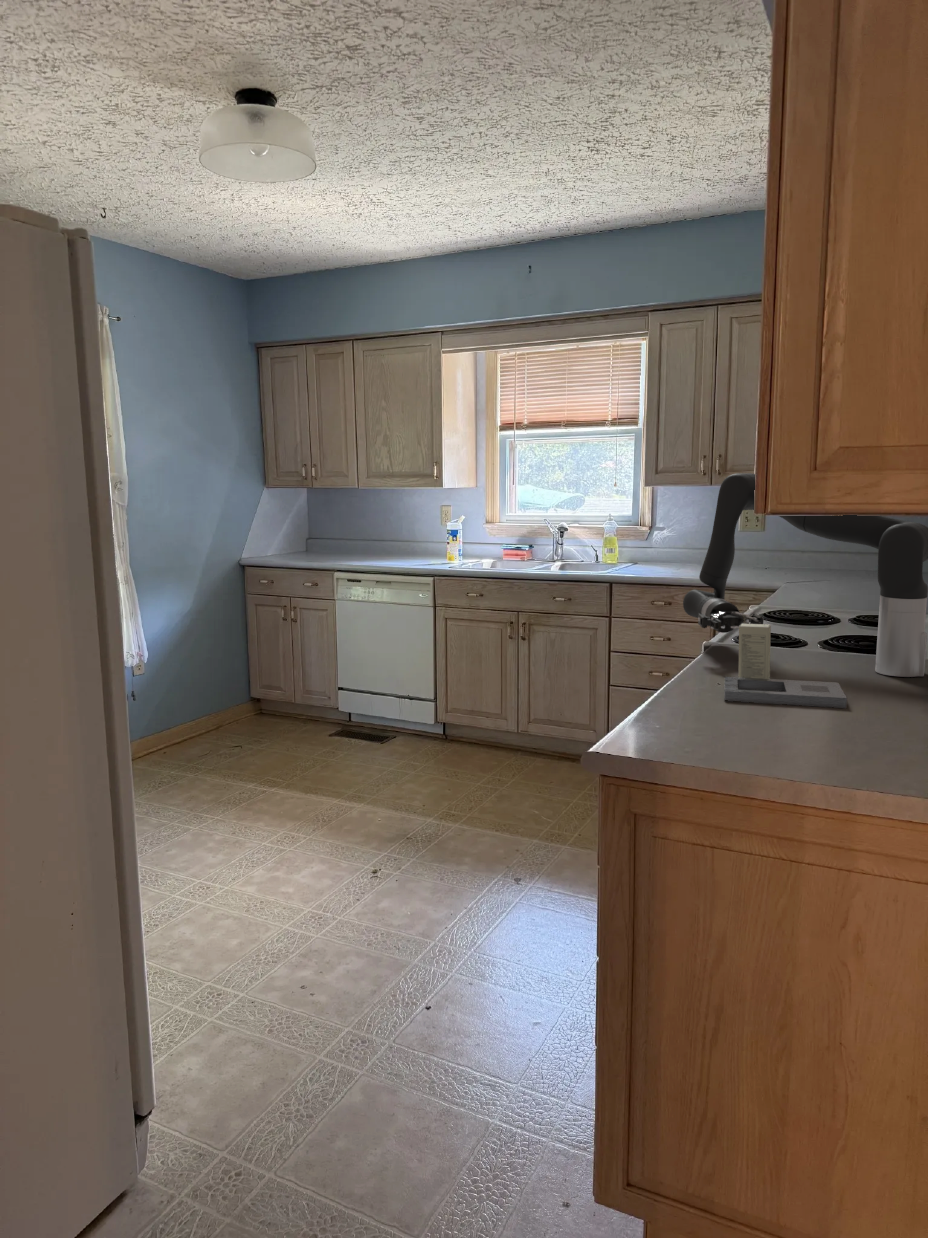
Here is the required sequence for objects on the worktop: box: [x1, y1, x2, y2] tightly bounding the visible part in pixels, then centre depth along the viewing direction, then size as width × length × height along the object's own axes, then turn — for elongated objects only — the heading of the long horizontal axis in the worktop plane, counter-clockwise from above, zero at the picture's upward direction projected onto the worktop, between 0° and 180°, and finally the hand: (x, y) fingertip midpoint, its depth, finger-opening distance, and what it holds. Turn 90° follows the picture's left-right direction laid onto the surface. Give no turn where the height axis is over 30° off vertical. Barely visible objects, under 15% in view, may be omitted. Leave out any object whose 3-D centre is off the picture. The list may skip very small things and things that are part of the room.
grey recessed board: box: [723, 676, 848, 709], centre depth 168 cm, size 22×13×2 cm, turn 73°
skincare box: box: [737, 623, 772, 679], centre depth 181 cm, size 6×4×12 cm
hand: (738, 626), depth 192 cm, fingers open, 8 cm apart
